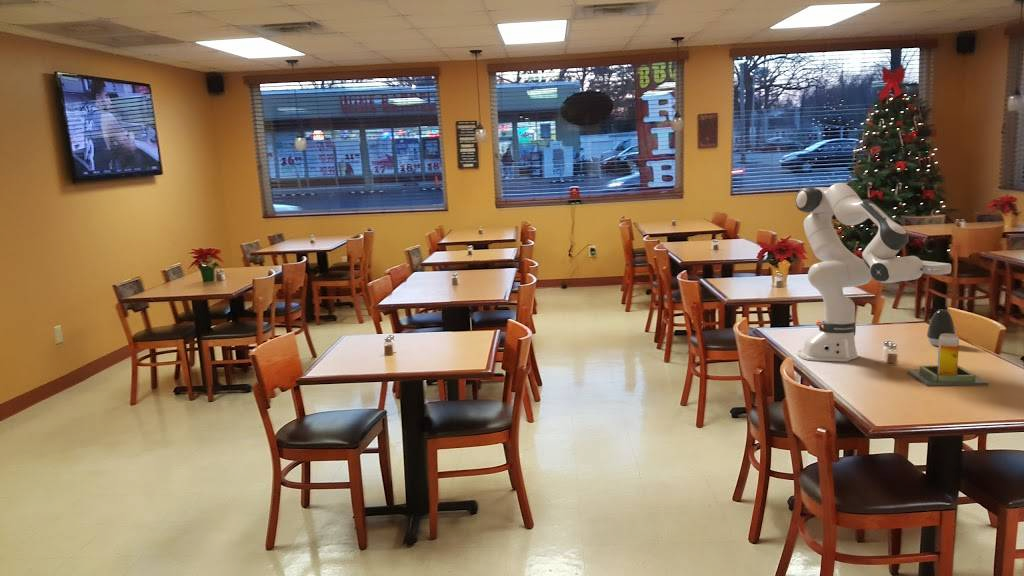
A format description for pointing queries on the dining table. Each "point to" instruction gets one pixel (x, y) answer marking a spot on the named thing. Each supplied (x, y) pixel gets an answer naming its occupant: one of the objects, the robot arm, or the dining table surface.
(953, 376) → the green and grey tray
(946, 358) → the beer can
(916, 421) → the dining table surface
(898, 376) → the dining table surface
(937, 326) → the dark grey egg shape
